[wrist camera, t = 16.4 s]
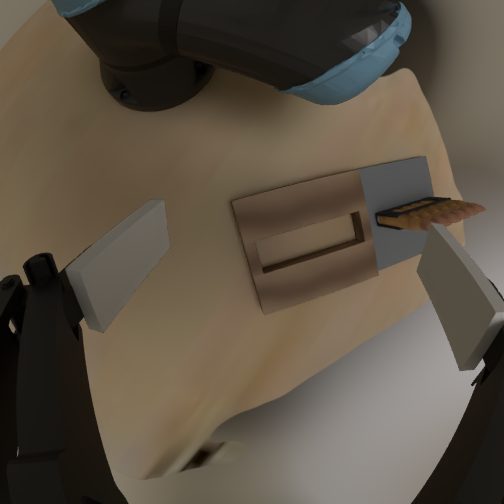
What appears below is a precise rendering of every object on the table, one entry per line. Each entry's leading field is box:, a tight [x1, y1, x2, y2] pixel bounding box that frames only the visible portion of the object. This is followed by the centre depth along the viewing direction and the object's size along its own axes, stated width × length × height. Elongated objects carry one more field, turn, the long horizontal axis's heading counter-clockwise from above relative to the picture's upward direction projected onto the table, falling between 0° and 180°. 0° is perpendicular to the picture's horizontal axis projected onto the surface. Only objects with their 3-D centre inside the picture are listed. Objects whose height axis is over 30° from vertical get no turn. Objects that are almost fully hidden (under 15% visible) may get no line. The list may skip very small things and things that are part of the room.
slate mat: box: [357, 156, 434, 271], centre depth 36 cm, size 14×13×1 cm
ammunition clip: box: [375, 197, 486, 231], centre depth 30 cm, size 11×2×12 cm, turn 106°
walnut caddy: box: [231, 170, 379, 315], centre depth 35 cm, size 14×16×2 cm
